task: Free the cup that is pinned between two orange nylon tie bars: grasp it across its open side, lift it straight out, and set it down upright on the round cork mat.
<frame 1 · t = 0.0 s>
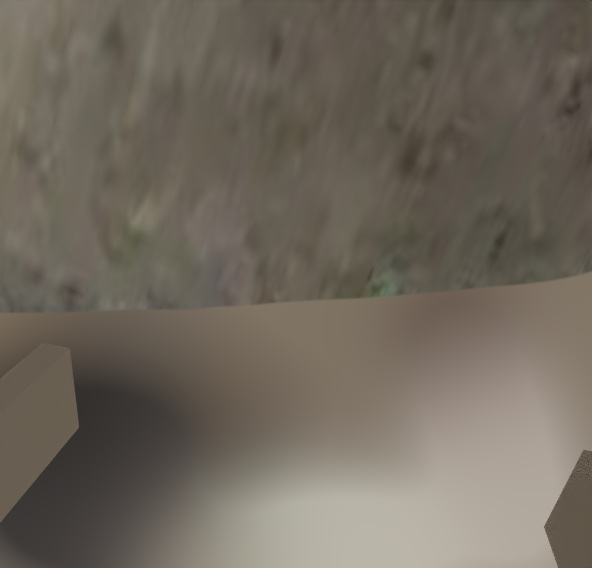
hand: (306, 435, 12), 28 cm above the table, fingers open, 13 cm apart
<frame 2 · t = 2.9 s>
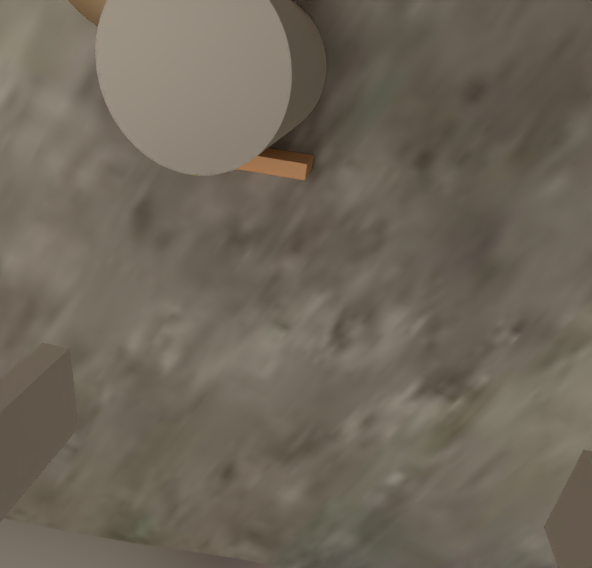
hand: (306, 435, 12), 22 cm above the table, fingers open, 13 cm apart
tie bars: (261, 68, 30), on the table
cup: (262, 67, 30), on the table
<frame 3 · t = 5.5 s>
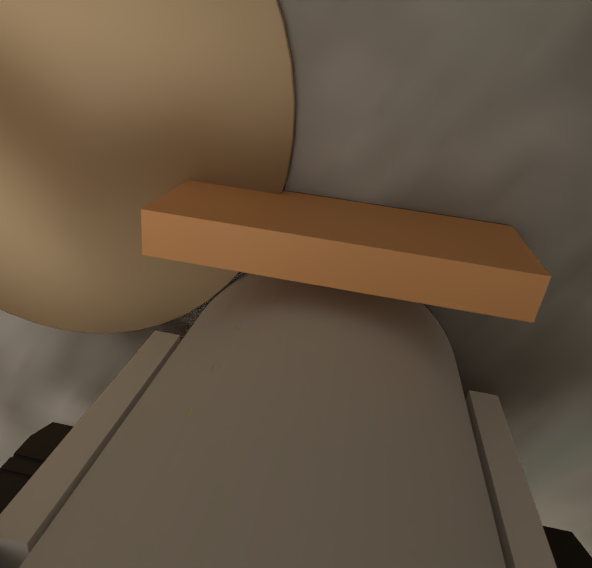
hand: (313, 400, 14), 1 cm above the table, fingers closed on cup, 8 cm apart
tie bars: (317, 384, 14), on the table
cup: (318, 379, 15), on the table, touching gripper
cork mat: (43, 104, 12), on the table
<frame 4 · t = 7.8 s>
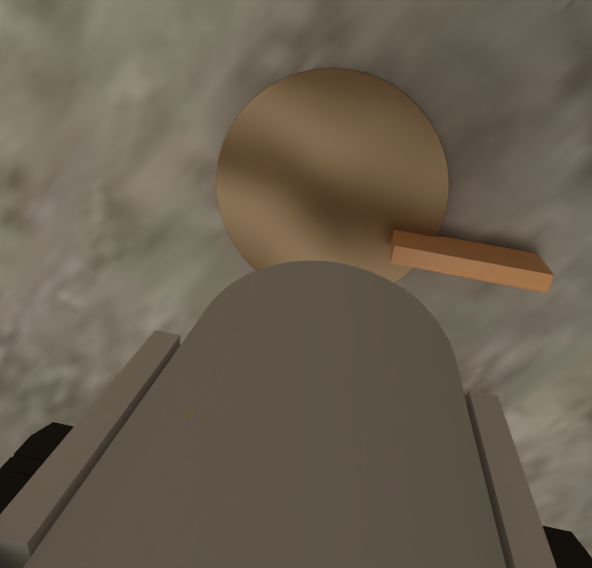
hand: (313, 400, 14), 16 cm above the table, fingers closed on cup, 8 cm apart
tie bars: (437, 326, 29), on the table
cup: (318, 380, 15), point 15 cm above the table, touching gripper
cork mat: (328, 193, 27), on the table
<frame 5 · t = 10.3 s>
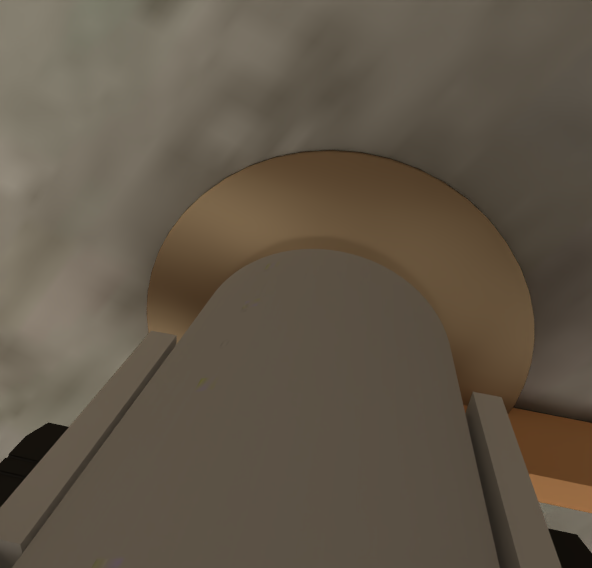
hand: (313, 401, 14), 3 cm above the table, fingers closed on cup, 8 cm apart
tie bars: (503, 527, 19), on the table
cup: (319, 365, 15), point 1 cm above the table, touching gripper
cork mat: (329, 341, 17), on the table
when the fingers open (3 cm above the table, at t = 10.7 s): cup stays where it is, resting on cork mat.
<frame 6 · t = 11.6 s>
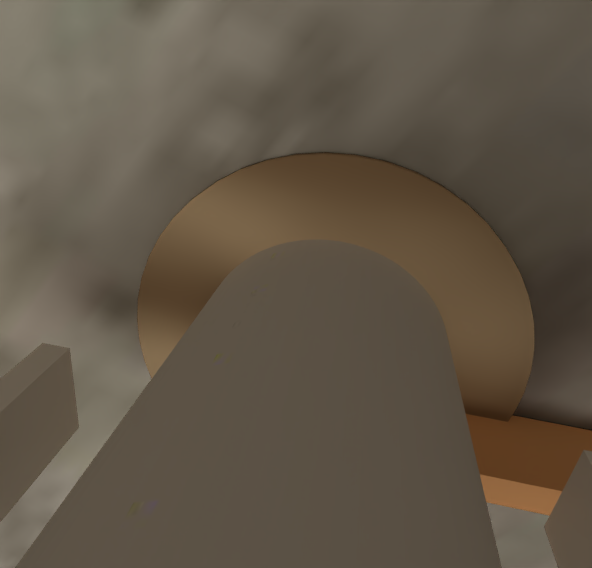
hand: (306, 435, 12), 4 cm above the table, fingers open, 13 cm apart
tie bars: (502, 536, 18), on the table
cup: (321, 351, 16), resting on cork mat
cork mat: (324, 348, 16), on the table
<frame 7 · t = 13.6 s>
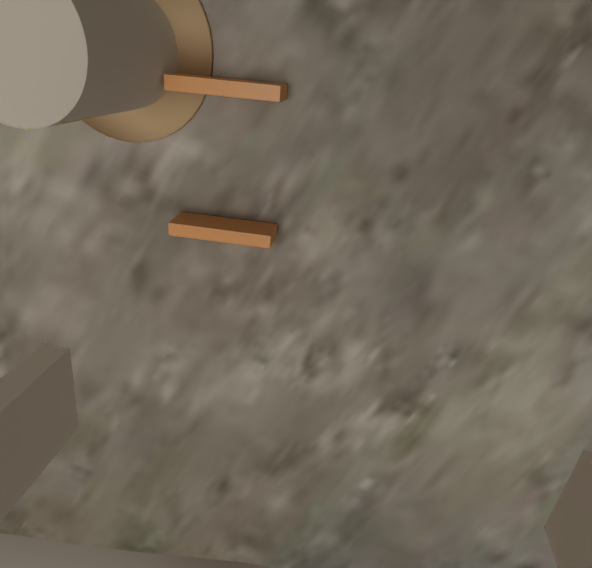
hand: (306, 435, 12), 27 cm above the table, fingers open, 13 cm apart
tie bars: (231, 159, 37), on the table
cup: (124, 49, 34), resting on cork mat
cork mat: (126, 49, 35), on the table
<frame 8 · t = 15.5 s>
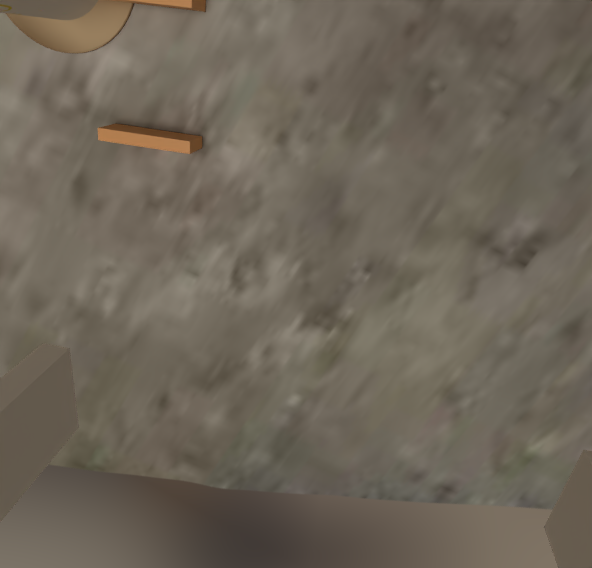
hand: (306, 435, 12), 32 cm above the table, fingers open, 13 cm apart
tie bars: (157, 71, 40), on the table
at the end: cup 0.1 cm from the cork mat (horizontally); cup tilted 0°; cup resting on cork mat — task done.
